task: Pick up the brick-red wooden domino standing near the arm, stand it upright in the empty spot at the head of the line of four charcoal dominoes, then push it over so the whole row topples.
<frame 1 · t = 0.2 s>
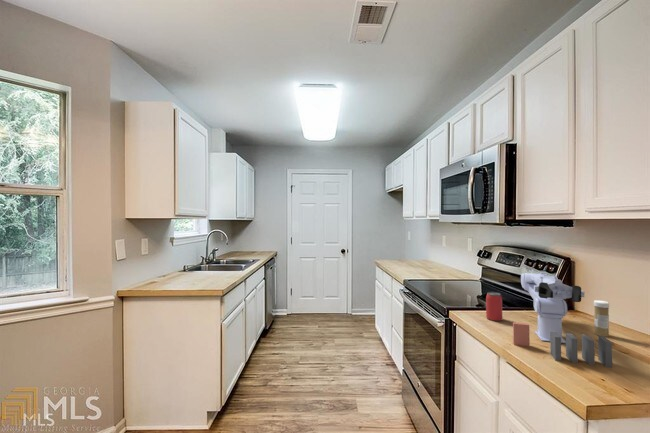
hand: (565, 296, 103), 22 cm above the counter, tool horizontal, fingers open, 7 cm apart
red domino: (521, 344, 116), on the counter
domino 5: (605, 363, 101), on the counter
beer can: (494, 319, 144), on the counter
sprinkles bottle: (601, 335, 124), on the counter
domino 2: (555, 357, 106), on the counter
domino 3: (571, 359, 104), on the counter
domino 4: (588, 361, 103), on the counter
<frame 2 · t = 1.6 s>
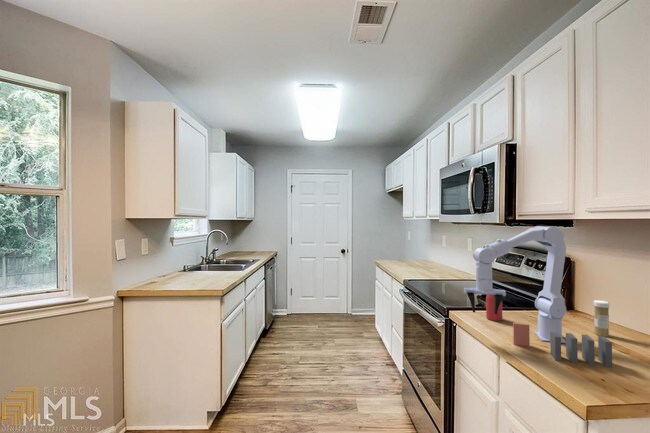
hand: (484, 312, 122), 10 cm above the counter, tool pointing down, fingers open, 7 cm apart
nothing on the counter moved.
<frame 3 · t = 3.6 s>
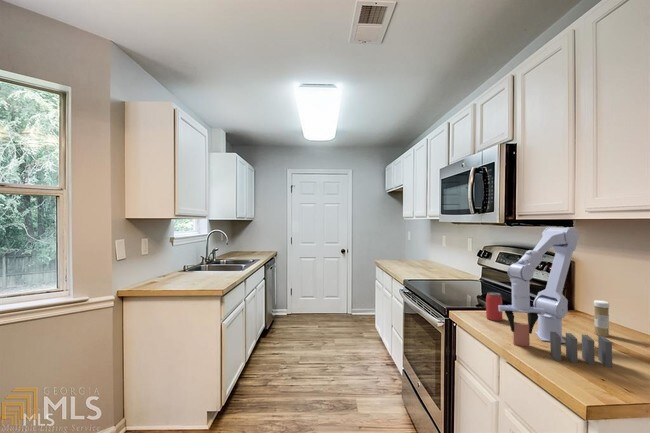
hand: (521, 331, 116), 5 cm above the counter, tool pointing down, fingers closed on red domino, 5 cm apart
red domino: (521, 344, 116), on the counter, touching gripper
everything else where it was.
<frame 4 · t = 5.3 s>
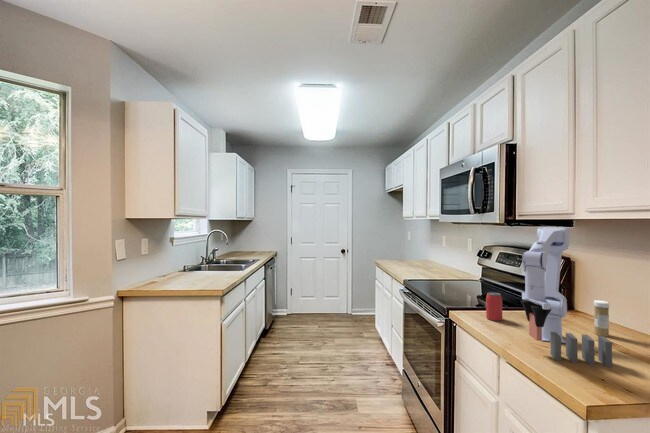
hand: (535, 323, 109), 10 cm above the counter, tool pointing down, fingers closed on red domino, 5 cm apart
red domino: (535, 337, 109), point 6 cm above the counter, touching gripper
everything else where it was.
when the fingers open (5 cm above the counter, at t = 7.2 s): red domino stays where it is, on the counter.
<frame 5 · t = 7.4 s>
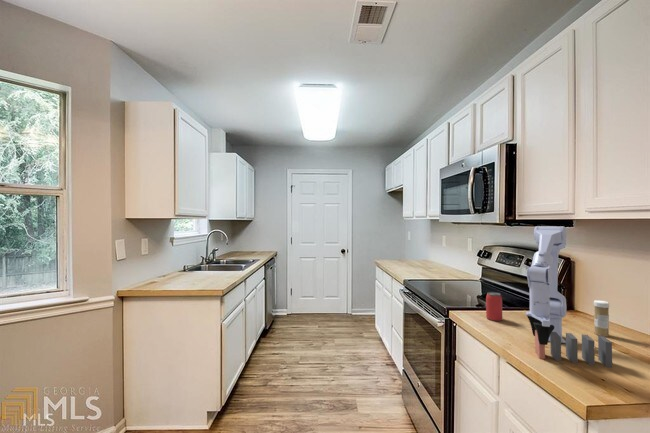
hand: (540, 340, 107), 5 cm above the counter, tool pointing down, fingers open, 7 cm apart
red domino: (540, 355, 108), on the counter
everything else where it was.
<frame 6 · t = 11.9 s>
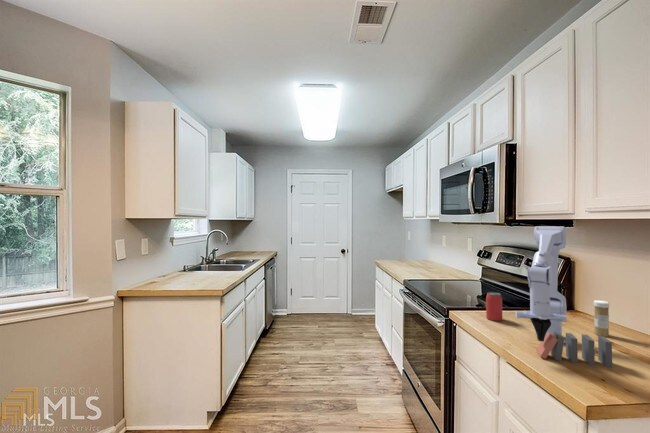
hand: (540, 340, 107), 5 cm above the counter, tool pointing down, fingers closed
red domino: (540, 354, 107), on the counter, tilted 28°
domino 2: (555, 357, 106), on the counter, tilted 7°
everything else where it was.
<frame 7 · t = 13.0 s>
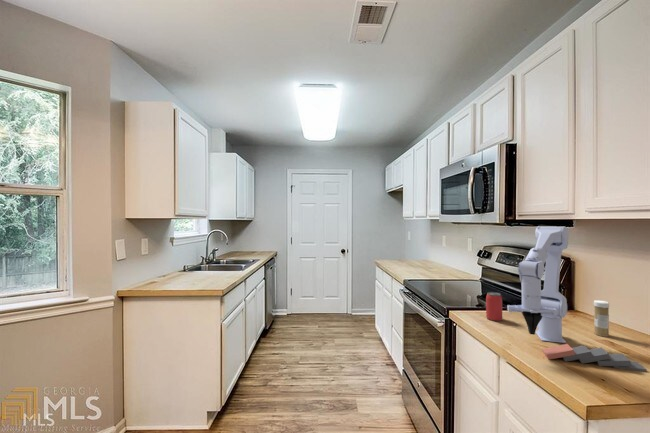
hand: (531, 333, 109), 7 cm above the counter, tool pointing down, fingers closed
red domino: (545, 354, 107), point 1 cm above the counter, tilted 70°, touching domino 2
domino 5: (609, 364, 101), on the counter, tilted 90°
domino 2: (561, 356, 105), point 1 cm above the counter, tilted 69°, touching domino 3, red domino
domino 3: (577, 357, 104), point 1 cm above the counter, tilted 69°, touching domino 2, domino 4
domino 4: (595, 360, 102), point 1 cm above the counter, tilted 79°, touching domino 3
everything else where it was.
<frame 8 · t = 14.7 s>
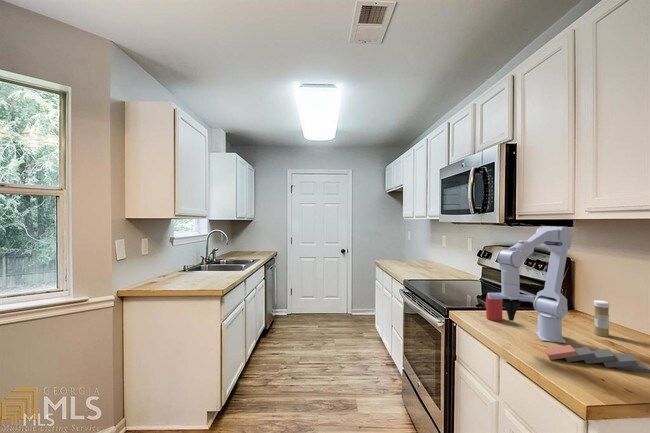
hand: (510, 319, 114), 10 cm above the counter, tool pointing down, fingers closed
domino 3: (582, 358, 103), point 1 cm above the counter, tilted 71°, touching domino 2, domino 4
domino 4: (603, 361, 101), point 1 cm above the counter, tilted 71°, touching domino 3
at the end: red domino inside the target area (1.8 cm from its centre), point 0.7 cm above the counter; domino 3 tilted 70°; domino 5 tilted 90° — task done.
